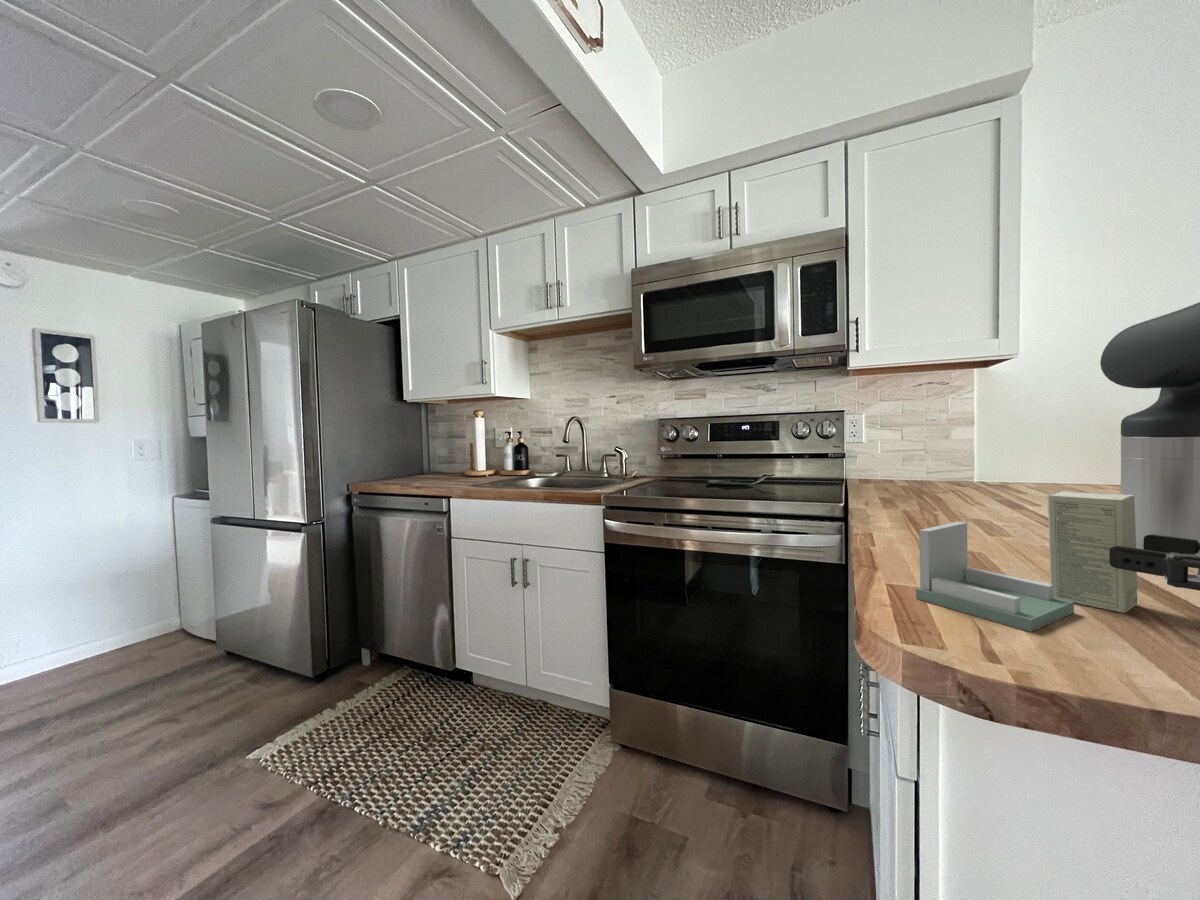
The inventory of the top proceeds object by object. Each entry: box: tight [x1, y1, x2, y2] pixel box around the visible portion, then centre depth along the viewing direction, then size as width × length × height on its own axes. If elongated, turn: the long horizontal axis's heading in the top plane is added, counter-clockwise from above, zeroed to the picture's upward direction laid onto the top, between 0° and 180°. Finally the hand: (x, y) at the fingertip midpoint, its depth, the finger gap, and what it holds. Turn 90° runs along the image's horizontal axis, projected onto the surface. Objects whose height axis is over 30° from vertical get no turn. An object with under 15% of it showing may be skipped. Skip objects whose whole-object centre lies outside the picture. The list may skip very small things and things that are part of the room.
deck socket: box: [915, 521, 1075, 633], centre depth 54 cm, size 9×11×8 cm
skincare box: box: [1047, 490, 1138, 614], centre depth 54 cm, size 6×4×12 cm
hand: (1128, 549), depth 51 cm, fingers open, 8 cm apart
